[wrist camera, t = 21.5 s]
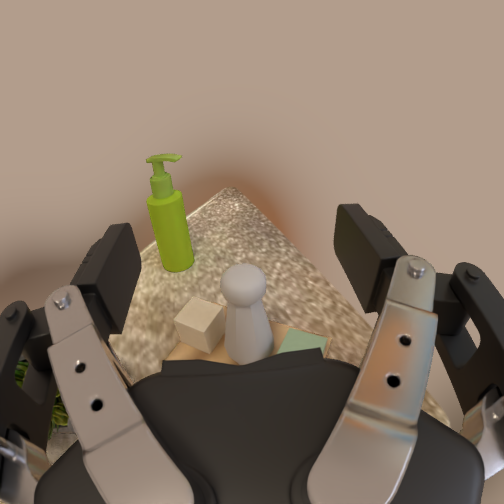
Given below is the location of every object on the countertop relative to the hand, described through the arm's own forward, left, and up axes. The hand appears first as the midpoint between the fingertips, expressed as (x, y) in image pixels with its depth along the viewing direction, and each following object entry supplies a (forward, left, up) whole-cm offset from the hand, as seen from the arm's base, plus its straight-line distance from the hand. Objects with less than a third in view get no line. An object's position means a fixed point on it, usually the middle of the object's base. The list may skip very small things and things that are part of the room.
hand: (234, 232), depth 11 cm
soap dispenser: (-26, +23, -25) cm, 42 cm away
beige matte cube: (-12, +10, -24) cm, 29 cm away
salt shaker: (-5, +10, -24) cm, 27 cm away
